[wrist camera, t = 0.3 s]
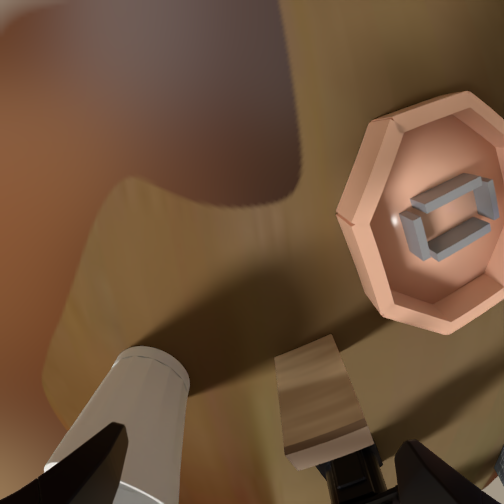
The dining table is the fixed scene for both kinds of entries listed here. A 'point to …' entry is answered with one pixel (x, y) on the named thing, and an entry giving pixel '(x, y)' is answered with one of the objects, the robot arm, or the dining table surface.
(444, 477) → the robot arm
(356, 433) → the block
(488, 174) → the candle dish
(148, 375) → the cup
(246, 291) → the dining table surface
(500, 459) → the box
